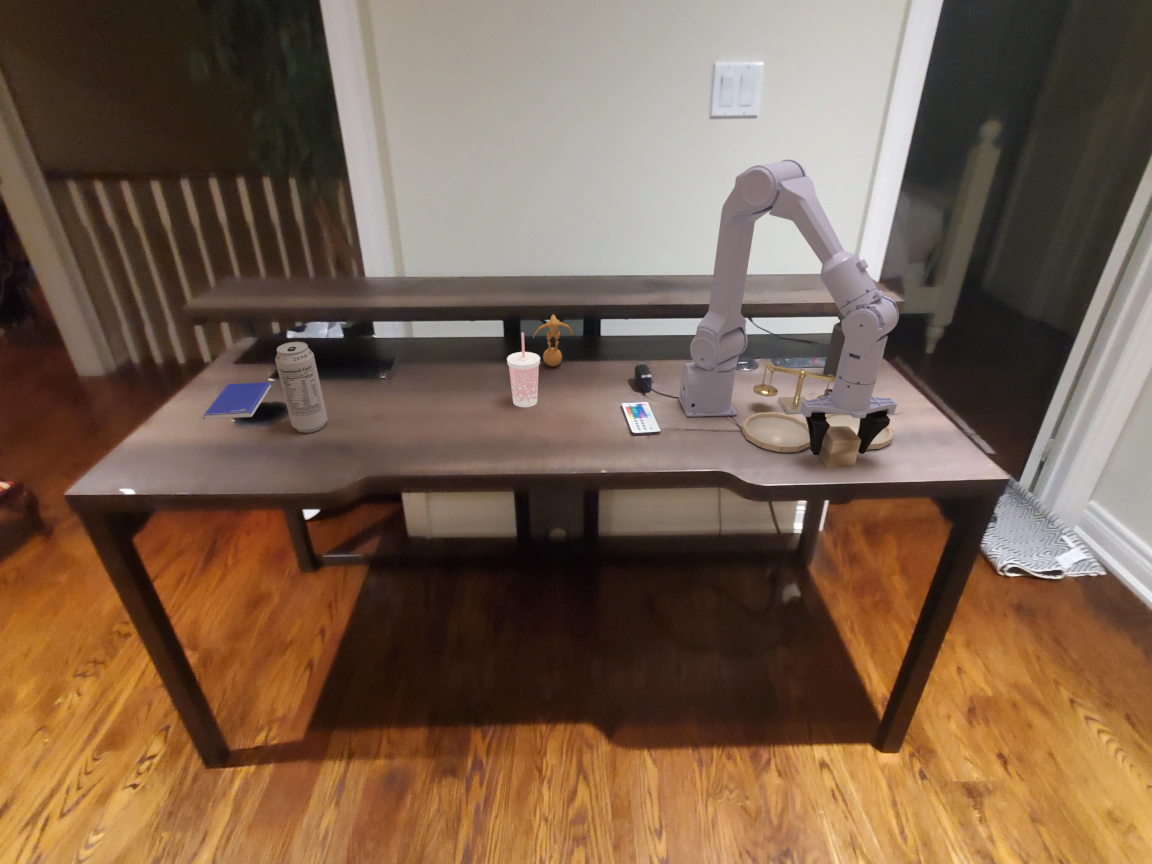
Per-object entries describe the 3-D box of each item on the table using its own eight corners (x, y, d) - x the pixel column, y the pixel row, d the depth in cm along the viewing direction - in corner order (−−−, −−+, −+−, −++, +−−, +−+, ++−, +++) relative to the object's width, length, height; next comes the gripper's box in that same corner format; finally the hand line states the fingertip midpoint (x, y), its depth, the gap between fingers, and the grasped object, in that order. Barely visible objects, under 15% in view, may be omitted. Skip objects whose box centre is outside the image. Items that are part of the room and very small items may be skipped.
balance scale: (755, 414, 118) (762, 372, 114) (746, 401, 122) (753, 360, 118) (844, 411, 119) (855, 369, 115) (833, 399, 123) (843, 358, 119)
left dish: (754, 454, 106) (755, 447, 106) (734, 419, 116) (735, 413, 116) (823, 452, 107) (824, 445, 106) (797, 417, 117) (798, 411, 117)
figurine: (570, 360, 138) (570, 307, 132) (574, 372, 133) (575, 317, 127) (532, 362, 137) (530, 309, 131) (535, 374, 132) (533, 319, 126)
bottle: (854, 382, 130) (873, 312, 122) (824, 380, 131) (840, 310, 123) (850, 370, 135) (867, 302, 127) (821, 368, 136) (836, 300, 128)
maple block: (827, 467, 103) (833, 440, 101) (816, 452, 107) (822, 426, 105) (854, 466, 104) (861, 440, 101) (842, 451, 108) (848, 425, 105)
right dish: (836, 451, 107) (837, 445, 107) (809, 417, 117) (810, 411, 117) (903, 449, 108) (905, 442, 107) (871, 415, 118) (872, 409, 117)
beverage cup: (547, 401, 122) (546, 332, 115) (524, 412, 118) (521, 342, 111) (525, 391, 125) (523, 323, 118) (502, 401, 122) (498, 332, 114)
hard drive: (250, 411, 115) (269, 381, 126) (202, 414, 114) (226, 383, 125) (252, 419, 116) (271, 388, 127) (205, 421, 115) (228, 391, 126)
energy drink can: (331, 416, 116) (314, 339, 109) (325, 432, 111) (307, 353, 103) (296, 418, 115) (277, 341, 108) (289, 435, 110) (268, 355, 103)
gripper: (820, 389, 94) (803, 466, 101) (915, 387, 95) (891, 463, 102) (802, 369, 100) (787, 443, 107) (891, 367, 101) (870, 440, 108)
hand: (836, 451), depth 105 cm, fingers open, 7 cm apart
